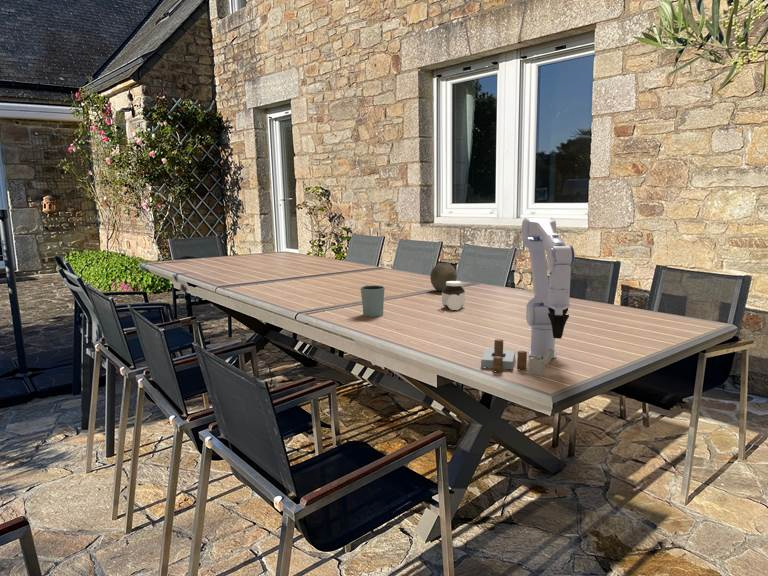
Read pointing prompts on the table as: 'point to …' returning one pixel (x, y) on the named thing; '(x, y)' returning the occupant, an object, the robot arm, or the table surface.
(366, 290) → the grey-green cup
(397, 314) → the table surface
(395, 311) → the table surface
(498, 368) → the short dowel
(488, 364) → the socket block
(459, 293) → the spread jar
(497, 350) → the tall dowel
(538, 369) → the lighter
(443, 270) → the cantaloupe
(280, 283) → the table surface
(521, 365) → the medium dowel
